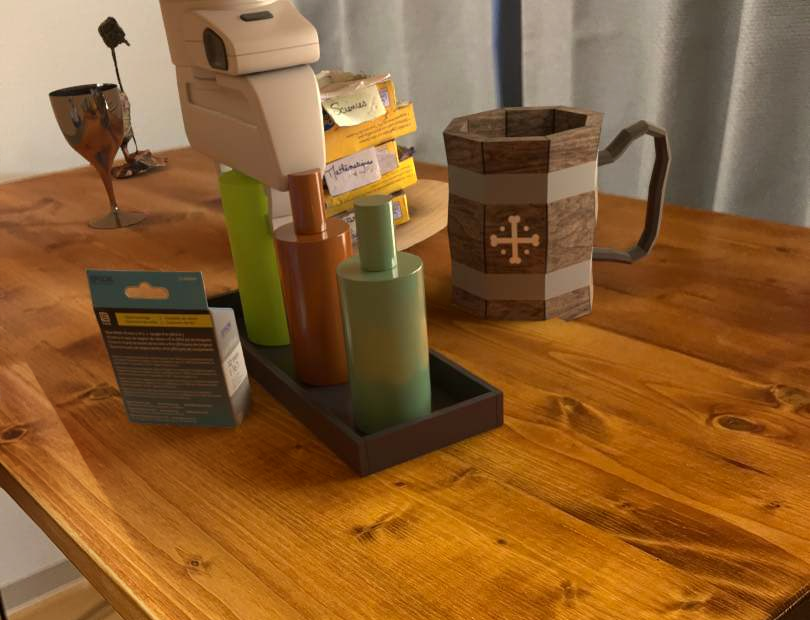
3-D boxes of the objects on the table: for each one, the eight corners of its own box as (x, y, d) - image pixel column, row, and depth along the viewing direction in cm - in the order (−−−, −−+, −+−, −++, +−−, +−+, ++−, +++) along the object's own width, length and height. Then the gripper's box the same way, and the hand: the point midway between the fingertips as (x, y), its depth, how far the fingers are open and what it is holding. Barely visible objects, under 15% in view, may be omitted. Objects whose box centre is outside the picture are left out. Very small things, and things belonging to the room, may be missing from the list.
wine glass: (102, 233, 107) (65, 99, 98) (75, 222, 112) (37, 93, 103) (160, 217, 111) (129, 86, 102) (131, 207, 116) (99, 81, 107)
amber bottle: (314, 393, 66) (282, 186, 57) (283, 367, 70) (250, 171, 61) (378, 372, 68) (357, 169, 59) (345, 348, 72) (321, 156, 63)
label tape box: (258, 412, 66) (225, 250, 59) (238, 439, 63) (201, 271, 56) (152, 407, 68) (108, 249, 61) (127, 433, 65) (78, 270, 58)
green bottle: (378, 446, 59) (353, 220, 50) (340, 415, 63) (311, 200, 54) (447, 421, 61) (436, 199, 52) (407, 392, 65) (389, 182, 56)
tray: (362, 488, 56) (357, 444, 54) (198, 336, 79) (190, 301, 77) (504, 434, 61) (503, 391, 59) (310, 304, 83) (305, 270, 81)
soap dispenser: (280, 310, 80) (239, 65, 68) (328, 328, 76) (294, 70, 64) (227, 332, 77) (175, 79, 65) (275, 352, 73) (228, 85, 61)
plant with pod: (95, 171, 134) (54, 21, 122) (169, 161, 136) (135, 12, 124) (93, 184, 128) (50, 27, 116) (171, 172, 130) (136, 17, 118)
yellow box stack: (257, 294, 86) (224, 109, 76) (234, 224, 106) (205, 70, 96) (495, 256, 90) (492, 75, 80) (430, 196, 110) (422, 44, 100)
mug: (467, 340, 74) (461, 150, 65) (434, 285, 84) (425, 116, 76) (688, 308, 76) (712, 119, 67) (629, 258, 86) (642, 91, 78)
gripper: (143, 28, 69) (183, 207, 77) (239, 48, 54) (276, 267, 63) (218, 17, 71) (249, 193, 80) (329, 33, 57) (353, 246, 65)
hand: (261, 226), depth 71 cm, fingers open, 7 cm apart
